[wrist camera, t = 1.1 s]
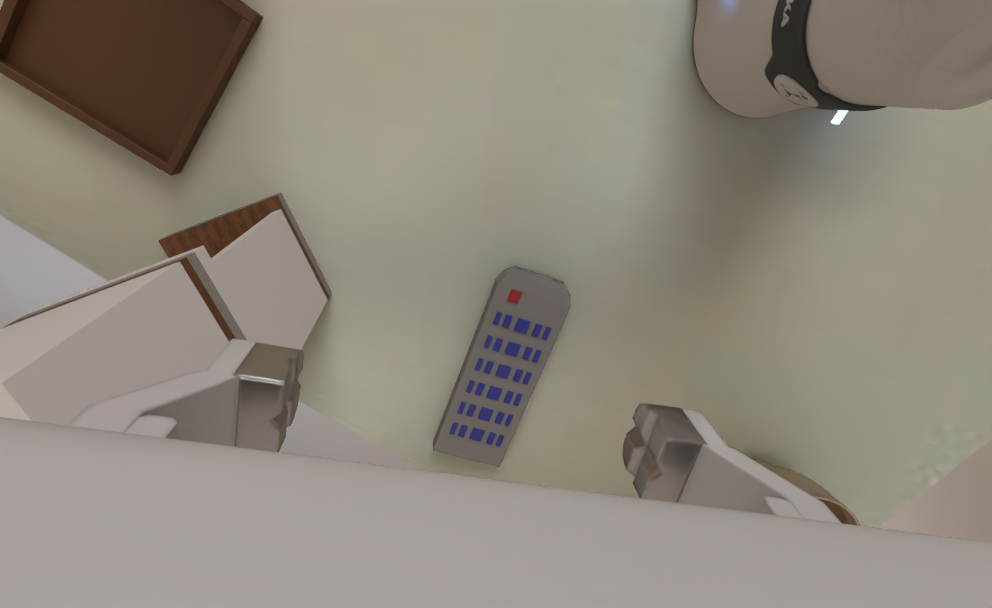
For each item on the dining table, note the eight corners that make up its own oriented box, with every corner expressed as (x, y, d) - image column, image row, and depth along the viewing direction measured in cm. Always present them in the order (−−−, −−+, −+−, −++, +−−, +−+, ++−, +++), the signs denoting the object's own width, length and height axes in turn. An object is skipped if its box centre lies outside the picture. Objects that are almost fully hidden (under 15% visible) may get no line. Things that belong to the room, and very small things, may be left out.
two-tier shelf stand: (280, 192, 51) (0, 382, 19) (331, 292, 55) (172, 590, 23) (168, 235, 52) (-288, 490, 20) (227, 331, 56) (-72, 674, 24)
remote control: (432, 439, 63) (432, 451, 61) (503, 260, 56) (505, 267, 54) (498, 456, 65) (499, 469, 63) (574, 285, 57) (579, 292, 55)
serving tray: (71, -122, 42) (55, -131, 40) (263, 17, 46) (256, 14, 44) (-4, 61, 46) (-21, 60, 44) (180, 172, 50) (171, 176, 48)
